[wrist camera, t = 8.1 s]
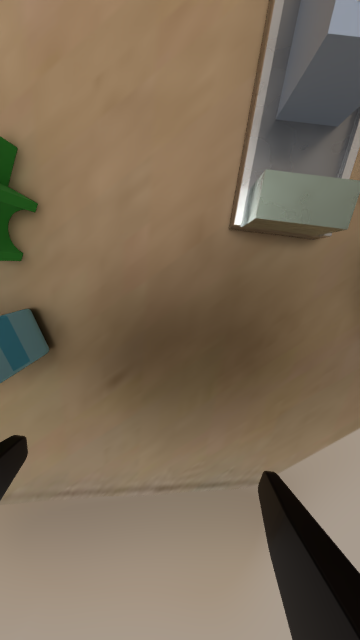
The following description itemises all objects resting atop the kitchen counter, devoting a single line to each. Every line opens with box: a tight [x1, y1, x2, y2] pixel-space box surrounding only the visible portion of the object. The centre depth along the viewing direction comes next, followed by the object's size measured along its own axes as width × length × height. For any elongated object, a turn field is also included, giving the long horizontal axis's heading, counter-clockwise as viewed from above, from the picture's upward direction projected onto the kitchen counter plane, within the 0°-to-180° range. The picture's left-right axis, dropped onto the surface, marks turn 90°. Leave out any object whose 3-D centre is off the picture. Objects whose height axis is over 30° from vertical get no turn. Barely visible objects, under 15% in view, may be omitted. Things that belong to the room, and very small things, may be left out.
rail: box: [229, 0, 360, 239], centre depth 11 cm, size 7×20×4 cm, turn 173°
